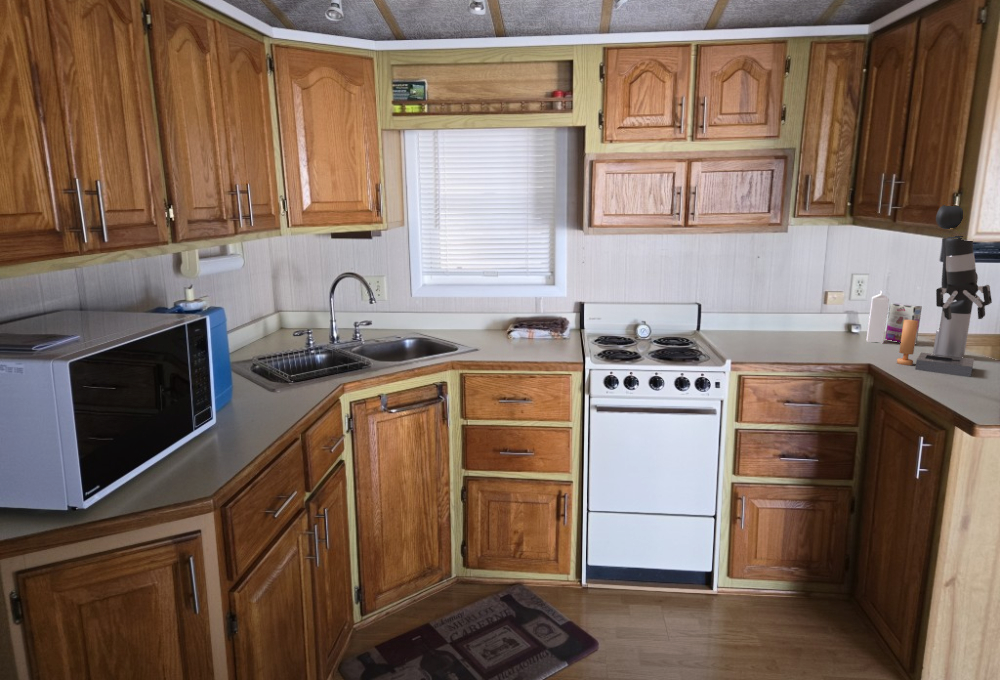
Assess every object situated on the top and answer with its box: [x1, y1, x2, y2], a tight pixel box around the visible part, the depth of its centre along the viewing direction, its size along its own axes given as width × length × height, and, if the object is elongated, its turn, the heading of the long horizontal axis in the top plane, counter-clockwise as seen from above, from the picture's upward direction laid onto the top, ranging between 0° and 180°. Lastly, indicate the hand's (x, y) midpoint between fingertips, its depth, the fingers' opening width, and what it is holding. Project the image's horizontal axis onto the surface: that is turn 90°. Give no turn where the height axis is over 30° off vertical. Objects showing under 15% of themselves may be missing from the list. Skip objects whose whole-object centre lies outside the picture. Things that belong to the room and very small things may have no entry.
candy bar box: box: [884, 302, 923, 343], centre depth 277 cm, size 11×5×16 cm, turn 25°
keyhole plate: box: [914, 352, 975, 378], centre depth 231 cm, size 16×16×4 cm
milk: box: [865, 290, 890, 344], centre depth 277 cm, size 6×6×22 cm
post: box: [896, 320, 918, 366], centre depth 236 cm, size 5×5×16 cm
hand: (964, 319), depth 207 cm, fingers open, 8 cm apart
